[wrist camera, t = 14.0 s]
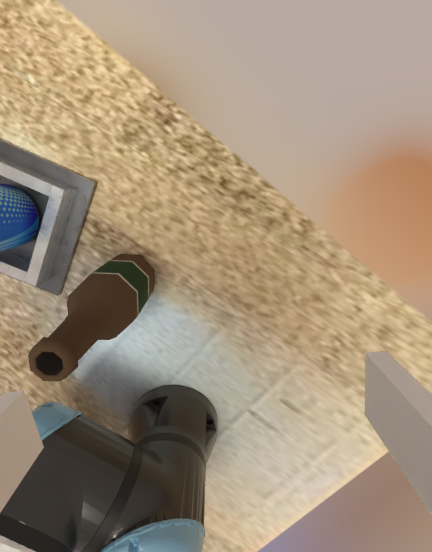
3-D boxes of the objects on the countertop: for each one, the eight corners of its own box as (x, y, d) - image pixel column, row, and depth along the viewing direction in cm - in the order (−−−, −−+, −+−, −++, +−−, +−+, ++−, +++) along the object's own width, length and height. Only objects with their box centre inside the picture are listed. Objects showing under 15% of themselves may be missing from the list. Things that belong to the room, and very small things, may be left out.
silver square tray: (61, 293, 47) (45, 304, 43) (-57, 246, 45) (-86, 252, 41) (97, 182, 43) (84, 181, 38) (-33, 124, 41) (-62, 116, 36)
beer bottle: (97, 261, 46) (-24, 337, 23) (144, 244, 45) (69, 304, 22) (119, 307, 48) (29, 419, 25) (165, 291, 47) (116, 390, 24)
